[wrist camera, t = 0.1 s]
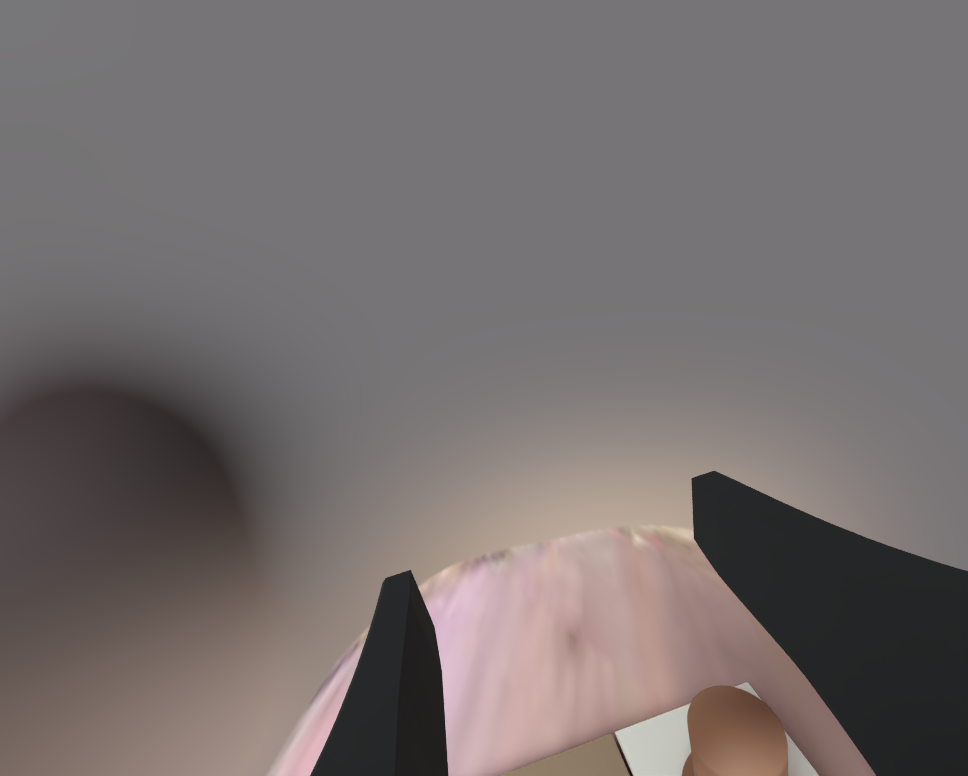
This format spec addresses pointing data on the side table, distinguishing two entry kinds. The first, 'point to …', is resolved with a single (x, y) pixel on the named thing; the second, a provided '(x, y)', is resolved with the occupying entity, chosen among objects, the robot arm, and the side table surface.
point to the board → (642, 751)
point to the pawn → (734, 735)
